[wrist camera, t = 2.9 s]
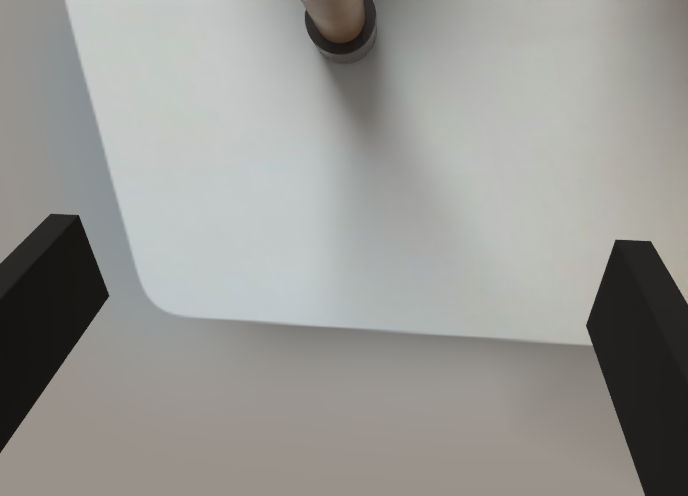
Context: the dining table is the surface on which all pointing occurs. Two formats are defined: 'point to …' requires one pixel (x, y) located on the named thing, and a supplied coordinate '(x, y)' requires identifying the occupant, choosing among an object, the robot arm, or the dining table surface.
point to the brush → (341, 28)
